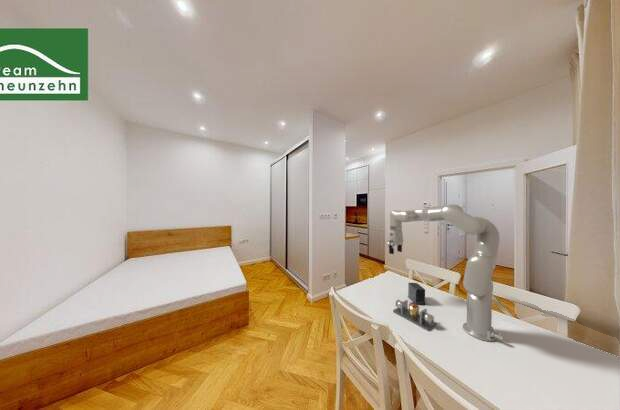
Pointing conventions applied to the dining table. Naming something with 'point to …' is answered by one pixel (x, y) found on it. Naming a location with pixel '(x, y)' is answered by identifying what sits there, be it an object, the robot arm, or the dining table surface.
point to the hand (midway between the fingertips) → (395, 252)
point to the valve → (413, 310)
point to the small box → (416, 293)
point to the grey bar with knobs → (423, 320)
